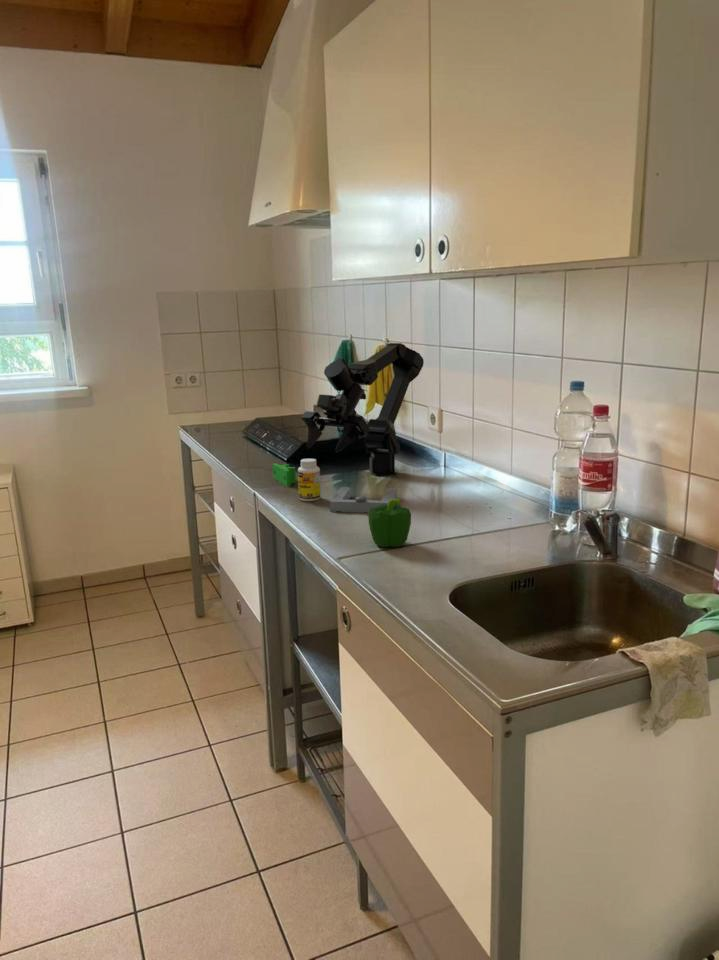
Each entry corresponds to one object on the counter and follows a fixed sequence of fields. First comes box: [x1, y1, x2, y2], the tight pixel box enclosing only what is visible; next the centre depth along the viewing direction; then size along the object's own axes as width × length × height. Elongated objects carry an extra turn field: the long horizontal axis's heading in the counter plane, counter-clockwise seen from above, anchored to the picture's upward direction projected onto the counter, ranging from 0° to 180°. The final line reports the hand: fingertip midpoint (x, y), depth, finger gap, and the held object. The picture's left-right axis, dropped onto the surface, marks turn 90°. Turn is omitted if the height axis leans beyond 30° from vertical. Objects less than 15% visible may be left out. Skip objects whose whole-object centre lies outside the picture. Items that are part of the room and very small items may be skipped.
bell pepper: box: [367, 498, 412, 548], centre depth 147 cm, size 8×8×10 cm
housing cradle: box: [329, 486, 398, 513], centre depth 178 cm, size 14×14×3 cm
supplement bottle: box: [297, 458, 321, 502], centre depth 184 cm, size 6×6×10 cm
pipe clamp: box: [272, 463, 297, 487], centre depth 203 cm, size 11×4×5 cm, turn 26°
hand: (321, 449), depth 186 cm, fingers open, 9 cm apart
